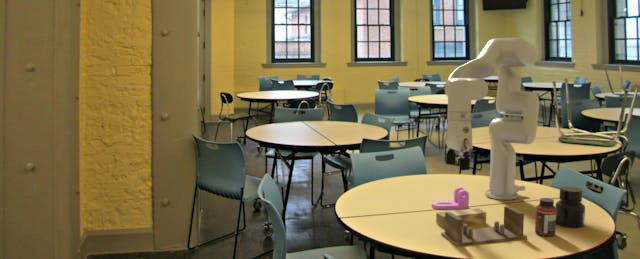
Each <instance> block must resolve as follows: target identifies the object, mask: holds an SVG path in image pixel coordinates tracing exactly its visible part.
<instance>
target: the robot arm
mask: <svg viewBox="0 0 640 259" xmlns="http://www.w3.org/2000/svg"><path fill="white" fill-rule="evenodd" d="M536 48H537V47H535V45H533V43H531V42H529V41H527V40H525V39H523V38H521V37H499V38H492V39H490V40H489V41H488V42H486V44H485V46H484V47H483V48H482V50H481V51H480V53H479V54H478V55H477V57H476V58H475V59H472V60H469V61H468V62H467V63H464V64H461V65H460V66H458V67H457V68H455V69H454V70H453V72H451V74H450V75H449V77H448V78H447V80H446V82H445V86H444V94H445V95H446V97H447V113H446V114H447V116H446V117H447V118H446V119H447V127H446V137H445V138H444V142H445V153H446V156H445V157H446V158H445V159H446V160H445V164H447V165H455V164H456V154H457V153H456V152H459V155H460V158H459V170H460V171H469V170H470V166H471V165H470V164H471V163H470V162H471V157H472V152H473V150H474V147H473V129H472V123H471V119H472V117H471V116H472V101H481V100H484V98H485V97H487V95H488V93H489V85H488V83H487V81H485V80H484V79H488V78H490V77H492V76H494V75H495V74H496V75H497V79H498V80H497V82H498V83H497V91H496V98H495V108H496V109H495V110H496V111H497V113H498V114H502V115H506V116H507V115H508V116H521V117H523V119H522V118H511V117H510V118H509V117H508V118H507V117H498V118H497V117H496V118H494V119H492V120H491V121H490V123H489V126H488V135H489V141H490V161H489V164H490V165H489V189H488V190H485V191H484V192H485V193H484V195H485V196H486V197H488V198H490V199H494V200H499V201H500V200H501V201H502V200H503V201H510V200H511V201H513V200H516V199H518V198H519V194H518V192H519V191H520V192H522V191H523V192H524V191H525V190H526V186H525V185H517V184H516V162H517V161H516V159H517V155H516V151H515V148H514V146H513V145H512V144H518V145H519V144H520V145H531V144H533V143H534V141H535V139H536V138H537V136H536V135H537V131H538V121H539V120H538V119H539V112H540V99H539V96H538V94H536V93H535V92H533V91H525V90H524V91H521V87H522V86H521V85H522V77H521V75H520V73H519V72H518V70H517V69H516V68H530V67H533V66H534V65H535V64H536V63H537V60H538V51H537V49H536ZM455 151H456V152H455Z"/></svg>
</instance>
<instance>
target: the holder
mask: <svg viewBox="0 0 640 259" xmlns="http://www.w3.org/2000/svg"><path fill="white" fill-rule="evenodd" d="M444 212H445V211H444ZM524 220H525V213H524V212H522V211H520V210H518V209H516V208H514V207H511V206H510V205H507V206H506V205H505V206H504V209H503V223H501V224H500V222H499V221H497V220H495V221H493V222H494V224H493V225H494V226H492V227H491V226H490V227H483V228H474V227H469V225H466V224H464V225H463V219H461V218H460V217H458V216H456V215H455V214H453V213H451V212H445V227H444V232H441V233H440V234H441V236H442V237H443V238H445V239H446V240H447V241H449V242H451V243H452V244H453V245H455V247H462V246H470V245H479V244H481V245H482V244H488V243H489V244H490V243H497V242H506V241H507V240H508V241H515V240H514V239H517V240H525V239H524V238H526V239H527V238H528V235H527V234H524V224H525V222H524ZM508 241H507V242H508Z"/></svg>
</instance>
